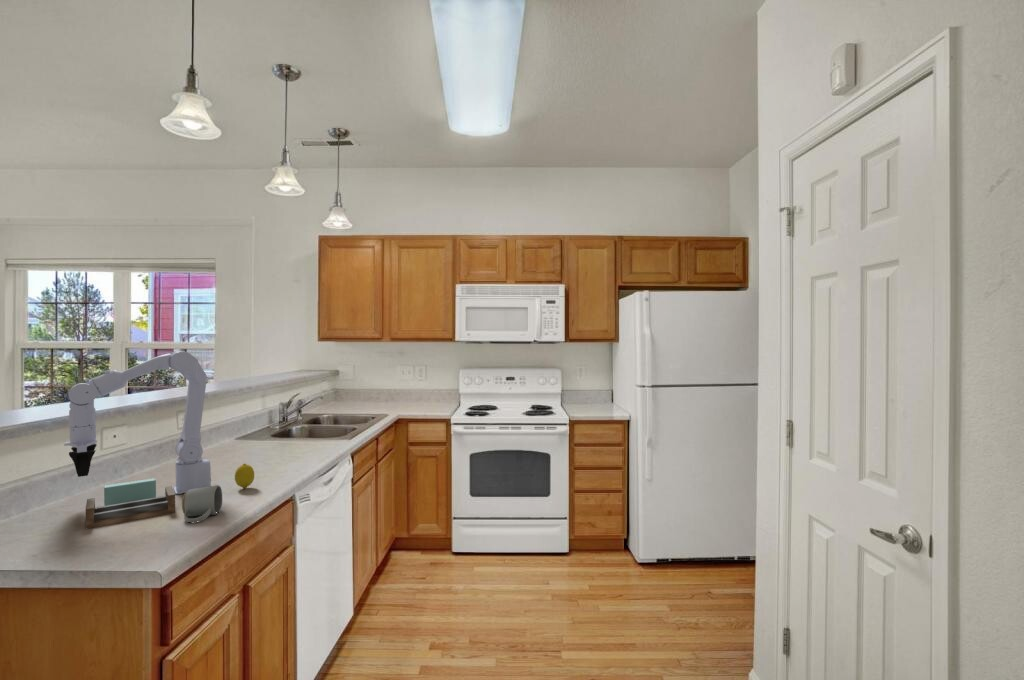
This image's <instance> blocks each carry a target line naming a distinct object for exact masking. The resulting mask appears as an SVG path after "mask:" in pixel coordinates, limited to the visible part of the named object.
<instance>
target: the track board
mask: <svg viewBox="0 0 1024 680" xmlns="http://www.w3.org/2000/svg"><path fill="white" fill-rule="evenodd" d="M173 487H174V486H172V485H169V486H165V487H164V488H165V489H164V491H165V493H164V495H163V496H156V498H150V499H144V500H138V501H132V502H126V503H120V504H114V505H108V506H104V505H103V506H96V502H95V501H96V497H95V498H94V497H93V498H88V499H86V504H85V529H86V528H88V529H93V528H98V527H97V526H99V527H103V525H104V526H108V525H109V524H110V525H115V524H120V523H125V522H131V521H136V519H137V520H142V519H147V517H148V518H153V517H157V515H158V516H162V515H161V514H164V515H168V514H167V513H169V514H172V513H171V512H175V513H176V494H175V491H174V489H173ZM152 516H153V517H152ZM92 527H93V528H92Z"/></svg>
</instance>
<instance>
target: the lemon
mask: <svg viewBox="0 0 1024 680" xmlns="http://www.w3.org/2000/svg"><path fill="white" fill-rule="evenodd" d="M254 480H255V471H254V468H253V467H252V466H251V465H249V464H247V463H243V464H242V465H240V466H238V467H237V468H236V471H235V474H234V481H235V483H236V485H237V486H238V487H240V488H242V489H244V488H245V489H247V488H248V487H249V486H250V485H252V484H253V482H254Z"/></svg>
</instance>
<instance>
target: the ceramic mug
mask: <svg viewBox="0 0 1024 680" xmlns="http://www.w3.org/2000/svg"><path fill="white" fill-rule="evenodd" d="M222 506H223V490H222V488H221V486H220V485H218V484H217V485H211V486H209V487H203V488H195V489H191V490H188V491H187V492H186V493H183V497H182V500H181V509H182V512H183V516H184V520H185V522H186V523H188V522H197V521H201V522H203V521H205V520H206V519H207V518H208V517H209V516H215V515H216V514H217V515H219V514H218V512H219V513H220V512H221V509H222ZM216 512H217V513H216ZM201 515H202V516H201ZM189 517H192V518H189ZM194 517H195V518H194ZM202 520H203V521H202Z"/></svg>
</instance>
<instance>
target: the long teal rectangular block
mask: <svg viewBox="0 0 1024 680" xmlns="http://www.w3.org/2000/svg"><path fill="white" fill-rule="evenodd" d="M103 487H104V488H103V492H104V493H103V494H104V495H103V499H104V500H103V501H104V504H103V506H108V505H114V504H120V503H126V502H132V501H138V500H144V499H150V498H156V497H157V480H156V477H153V478H146V479H141V480H134V481H133V480H132V481H124V482H119V483H118V482H117V483H111V484H106V485H103Z"/></svg>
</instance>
